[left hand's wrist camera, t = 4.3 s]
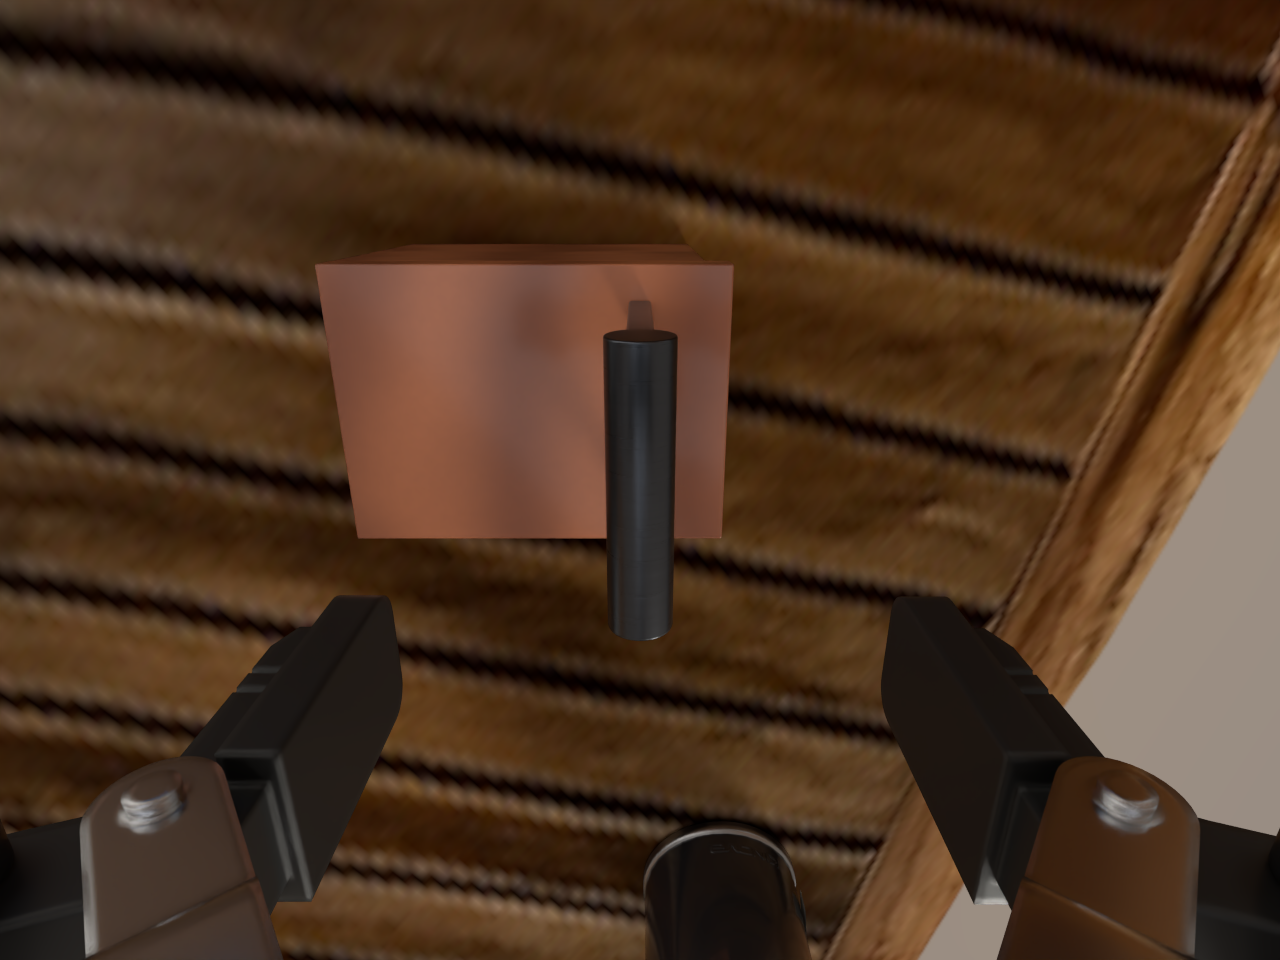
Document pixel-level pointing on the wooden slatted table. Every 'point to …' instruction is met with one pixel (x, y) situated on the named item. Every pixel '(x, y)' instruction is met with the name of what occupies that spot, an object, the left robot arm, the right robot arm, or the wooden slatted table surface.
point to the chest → (533, 252)
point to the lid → (537, 407)
